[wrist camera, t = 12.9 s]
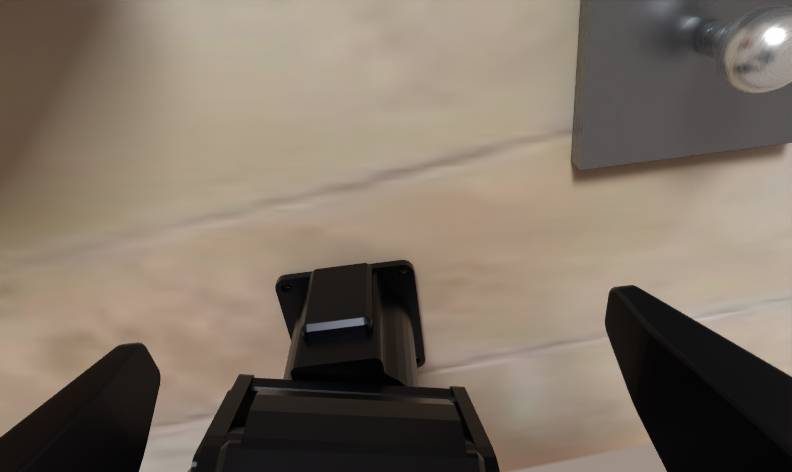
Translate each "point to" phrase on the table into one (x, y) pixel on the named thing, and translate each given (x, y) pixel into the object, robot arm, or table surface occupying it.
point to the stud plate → (680, 79)
